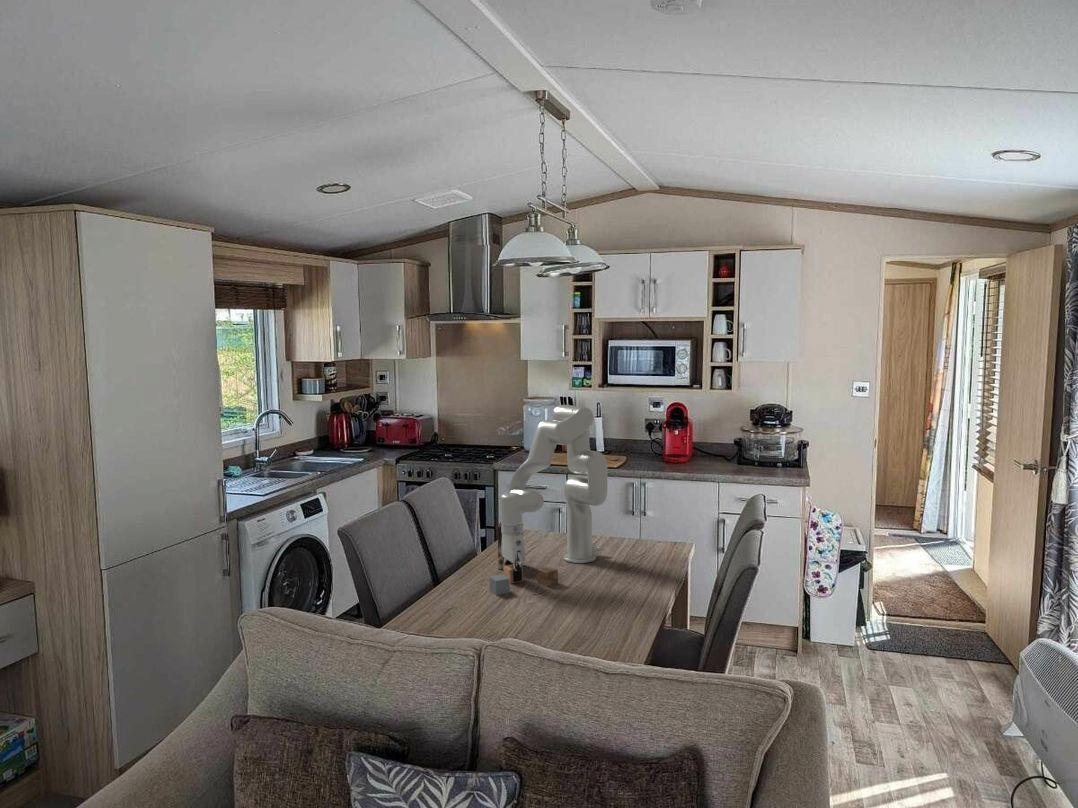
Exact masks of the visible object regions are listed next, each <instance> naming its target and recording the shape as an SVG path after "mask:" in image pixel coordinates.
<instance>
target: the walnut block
mask: <svg viewBox="0 0 1078 808" xmlns="http://www.w3.org/2000/svg"><path fill="white" fill-rule="evenodd" d="M558 571H559V570H558V568H554V567H552V566H549V565H548V566H545V567H541V568H538V569H537V584H539V585H542V586H544V587H550V586H553V585H557V584H559V572H558Z"/></svg>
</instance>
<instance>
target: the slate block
mask: <svg viewBox="0 0 1078 808" xmlns="http://www.w3.org/2000/svg"><path fill="white" fill-rule="evenodd" d="M510 589H511V588H510V582H509V578H508V577H506V576H505V575H504V573H502V574H497V575H491V576H489V591H490V592H491V593H492V594H493V595H495V596H500V595H504V594H509V593H510V592H511V590H510Z"/></svg>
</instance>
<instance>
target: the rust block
mask: <svg viewBox="0 0 1078 808" xmlns="http://www.w3.org/2000/svg"><path fill="white" fill-rule="evenodd" d="M516 566H517V564H516ZM502 570H503V575H505V576H506V577H508V578H509V582H510V584H515V583H521V582H523V581H524V580H523V579H524V578H523V574H524V573H523V571H524V570H522V581H518V582H514V581H513V571H514V567H513V564H512V565H507V566H503V569H502Z"/></svg>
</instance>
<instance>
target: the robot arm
mask: <svg viewBox="0 0 1078 808" xmlns="http://www.w3.org/2000/svg"><path fill="white" fill-rule="evenodd" d="M552 418H553V419H545V420H541V421H539V423H538V424H537V427H536V430H535V433H534V436H533V439H532V443H531V446H530V450H529V453H528V456H527V459H526V460H525V461H524V462H523V463H522V464H521V465H520V466H519V467H518V468H517V469H516V470H515V472H514V473H513V475H512V477H511V479H510V483H509V486H508V490H507V493H506V492H505V493H503V494H502V495H501V496H500V523H501V533H502V556H503V559H504V562H503V563H504V566H507V565H512V564H511V563H513V567H514V571H513V581H514V582H516V583H519V582H518V581H521V582H523V581H522V571H523V567H524V565H525V561H526V548H525V540H524V523H523V513H535V512H538V511H540V510H541V509H542V508H543V506H544V502H545V501H544V496H543V495H542V494H541V493H540V492H538V491H535V490H533V489H532V490H531V489H527V488H526V486H527V484H528V481H529V480H530V479H531V478H532V477H533V476H534V475H535V474H537V473H538V472H541V471H543V470H545V469H547V468H549V467H550V466H551V463H552V459H553V456H554V454H555V451H556V446H557V445H561V446H566V452H567V453H566V454H567V461H566V462H567V463H566V464H567V468H568V471H569V472H571V473H573V474H577V475H582V476H587V477H582V476H572V477H569V478H568V479H567V480H566V481H565V482H564V484H563V485H564V486H563V495H564V500H565V505H566V538H567V539H566V540H567V541H566V545H567V547H566V548H567V552H566V553H564V554H563V557H562V558H563V560H565V561H566V562H567V563H574V564H586V563H592V562H594V561H595V560H597V554H596V553H597V552H603V551H604V546H603V545H598V546H597V545H593V514H592V509H591V506H594V507H595V506H596V507H597V506H601V505H603V504H604V503H605V502H606V500H607V496H608V460H607V459H606V457H605V455H604V454H603V453H602V452H600V451H596V450H591V447H590V435H589V431H588V430H590V428H591V426H592V425H593V423H594V413H593V411H592V410H591V409H590V407H589V408H588V407H586V406H580V405H571V404H559V405H557V406H555V407H554V409H553V410H552ZM522 533H523V534H522ZM515 560H518V561H515ZM516 563H519V564H518V565H517V566H516Z"/></svg>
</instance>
